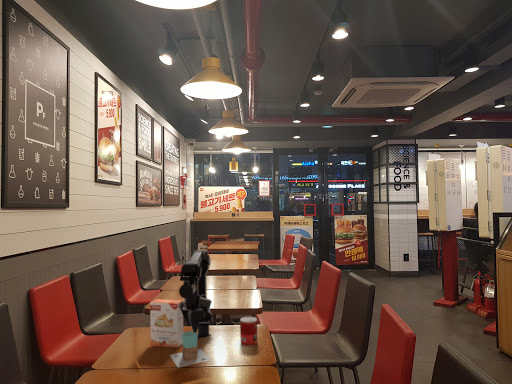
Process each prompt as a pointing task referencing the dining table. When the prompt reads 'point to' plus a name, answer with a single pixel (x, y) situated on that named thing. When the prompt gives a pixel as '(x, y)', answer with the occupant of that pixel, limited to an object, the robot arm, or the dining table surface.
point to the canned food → (248, 330)
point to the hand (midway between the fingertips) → (192, 329)
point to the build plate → (181, 361)
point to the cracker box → (166, 323)
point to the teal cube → (189, 339)
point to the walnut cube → (189, 353)
